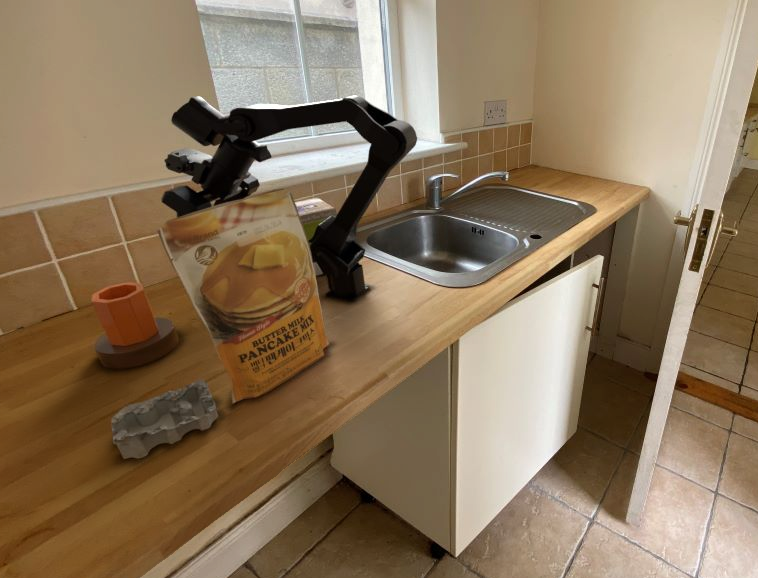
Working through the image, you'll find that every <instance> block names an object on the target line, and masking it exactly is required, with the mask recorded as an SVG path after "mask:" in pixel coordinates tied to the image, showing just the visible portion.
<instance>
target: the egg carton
mask: <svg viewBox="0 0 758 578" xmlns="http://www.w3.org/2000/svg"><path fill="white" fill-rule="evenodd" d="M208 386H209V385H208V384H207V382H206V381H205V380H204V378H203V377H201V378H199V379H197V380H196V381H194V382H192V383H190V384H188V385H187V386H185V387H179V388H177V390H174V391H173V390H168V391H166V392H164V393H162V394H160V395H157V396H154V397H152V398H149V399H147V400H144V401H141V402H136V403H131V404H129V405H126V406H124V407H122V408H121V409H120V410H119V411H118V412H117V413H116V414H115V415H113V417H112V418H111V419H110V423H111V424H110V425H111V431H112V443H113V444H114V445H116V447H117V448H118V450H119V452H120V454H121V456H122V459H123V460H126V459H129V458H130V459H131V458H134V459H142V458H145V457H146V456H148V455H149V452H150V451H151V450H152V449H153V448H155V447H156V446H158V445H161V444H170V445H173V444H174V443H177V442H180V440H182V438H183V436H184V435H186V433H188V432H190V431H193V430H200V431H201V432H202V431H204V430H208V429H209V428H211V427H212V424H213V422H214V421H216V420H217V419H218V418H219V414H218V412H217V408H218V407H217V404H216V402H215V400H214V398H213V395H212V393H211V391H210V389H209V387H208Z"/></svg>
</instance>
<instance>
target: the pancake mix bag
mask: <svg viewBox="0 0 758 578" xmlns="http://www.w3.org/2000/svg"><path fill="white" fill-rule="evenodd" d="M295 202H296V201H295V198H294V197H293V194H292V191H287V192H285V188H284V187H283V188H277V189H276V188H275V189H272V190H269V191H266V192H261V193H258V194H254V195H251V196H248V197H246V198H245V199H240V200H235V201H231V202H226V203H223V204H219V205H216V206H214V205H213V206H212V207H209V208H206V209H203V210H199V211H196V212H192V213H189V214H186V215H183V216H180V217H177V216H176V217H175V218H172V219H168V220H166V221H165V222H164V223H163V225H161V227H160V228H158V230H157V231H156V232H157V234H158V237H159V239H160V242H161V244H162V247H163V249H164V251H165V254H166V255H167V258H168V260H169V262H170V264H171V267H172V268H173V270H174V272H175V273H176V274H177V275H178V278H179V279H180V281H181V283H182V286H183V288H184V290H185V292H186V294H187V296H188V297H187V298H188V299H189V301H190V303H191V305H192V307H193V308H194V310H195V312H196V313H197V315H198V317H199V319H200V320H201V321H202V323H203V324H204V326H205V328H206V329H207V330H208V332H209V335H210V337H211V340H212V343H213V346H214V349H215V351H216V354H217V357H218V358H219V360H220V361H221V363H222V364H223V366H224V368H225V370H226V372H227V375H228V377H229V380H230V385H231V404H236V403H237V402H239V401H242V400H244V399H257V398H259V397H260V396H263V395H265V394H267V393H269V392H270V391H272V390H273V389H275V388H276V387H279V386H280V385H281V384H283V383H285V382H286V381H288V380H289V379H291V378H293V377H294V376H296V375H297V374H298V373H300V372H301V371H303V370H305V369H306V368H308V367H309V366H311V365H313V364H315V363H316V362H317V361H319V360H320V359H321V358H323V357H325V353H324V350H325V349H326V348H327V347H328V346H329V345H330V342H329V340H328V338H327V336H326V333H325V323H324V317H323V308H322V306H321V301H320V295H319V288H318V287H319V286H318V282H317V276H316V275H315V268H314V265H313V262H312V256H311V250H310V247H309V243H308V240H307V237H306V234H305V231H304V228H303V225H302V222H301V220H300V217H299V212H298V209H297V206H296V204H295Z"/></svg>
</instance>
